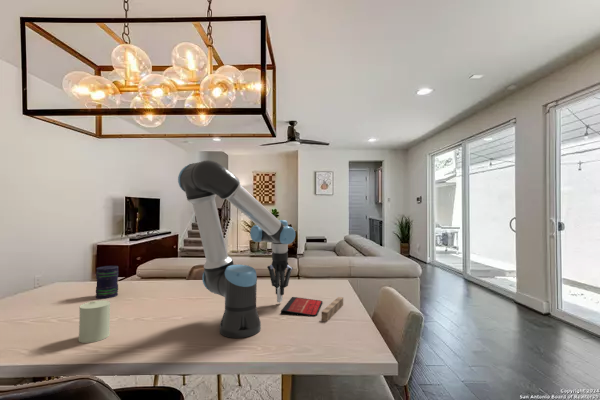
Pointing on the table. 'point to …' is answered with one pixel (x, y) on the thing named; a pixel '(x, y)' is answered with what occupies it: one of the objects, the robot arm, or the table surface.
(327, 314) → the rail
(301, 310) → the binder
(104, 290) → the storage jar
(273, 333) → the table surface
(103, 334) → the can
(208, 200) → the robot arm
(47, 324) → the table surface
